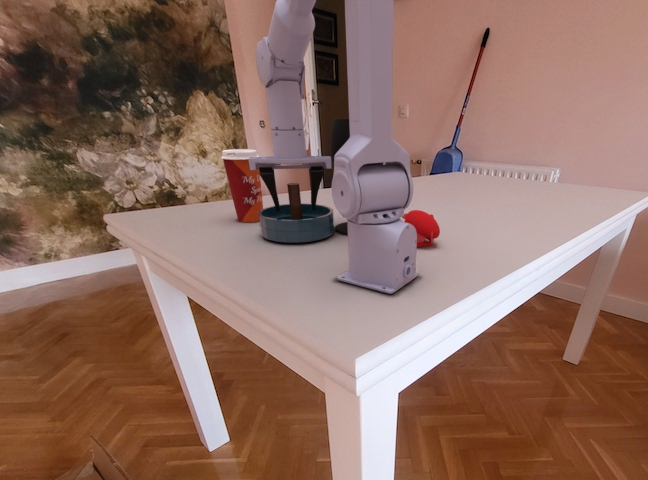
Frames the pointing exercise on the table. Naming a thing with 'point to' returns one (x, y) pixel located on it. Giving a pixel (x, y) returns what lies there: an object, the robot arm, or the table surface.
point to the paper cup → (243, 183)
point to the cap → (423, 226)
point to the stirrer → (295, 201)
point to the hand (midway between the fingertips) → (296, 209)
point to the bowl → (296, 224)
